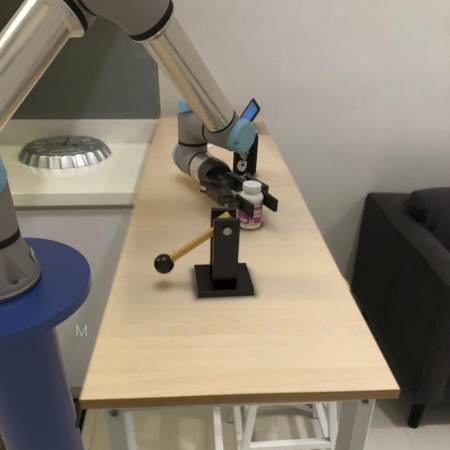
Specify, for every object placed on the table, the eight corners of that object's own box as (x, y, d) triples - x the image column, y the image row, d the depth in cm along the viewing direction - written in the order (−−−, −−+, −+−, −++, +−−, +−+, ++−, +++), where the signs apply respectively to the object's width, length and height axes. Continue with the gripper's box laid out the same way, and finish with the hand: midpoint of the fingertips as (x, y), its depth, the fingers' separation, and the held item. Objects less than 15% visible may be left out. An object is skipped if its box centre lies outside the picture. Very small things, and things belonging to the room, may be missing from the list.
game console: (215, 122, 172) (216, 96, 167) (252, 123, 174) (254, 97, 168) (219, 135, 160) (220, 107, 154) (259, 135, 161) (261, 108, 156)
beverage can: (229, 176, 129) (231, 132, 122) (236, 168, 134) (238, 125, 127) (252, 179, 127) (255, 135, 120) (258, 171, 132) (261, 128, 125)
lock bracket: (197, 297, 81) (197, 226, 73) (193, 270, 89) (193, 203, 81) (253, 294, 83) (259, 224, 75) (245, 268, 90) (250, 201, 82)
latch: (162, 281, 82) (149, 267, 80) (162, 270, 85) (149, 257, 83) (239, 231, 78) (227, 215, 76) (235, 221, 81) (224, 206, 79)
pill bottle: (252, 232, 102) (255, 190, 97) (232, 225, 105) (234, 184, 99) (265, 223, 106) (269, 183, 100) (246, 217, 108) (249, 177, 103)
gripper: (241, 181, 120) (296, 216, 104) (177, 193, 112) (226, 233, 96) (243, 152, 116) (301, 184, 100) (176, 163, 108) (227, 200, 92)
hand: (264, 208), depth 98 cm, fingers closed on pill bottle, 5 cm apart
